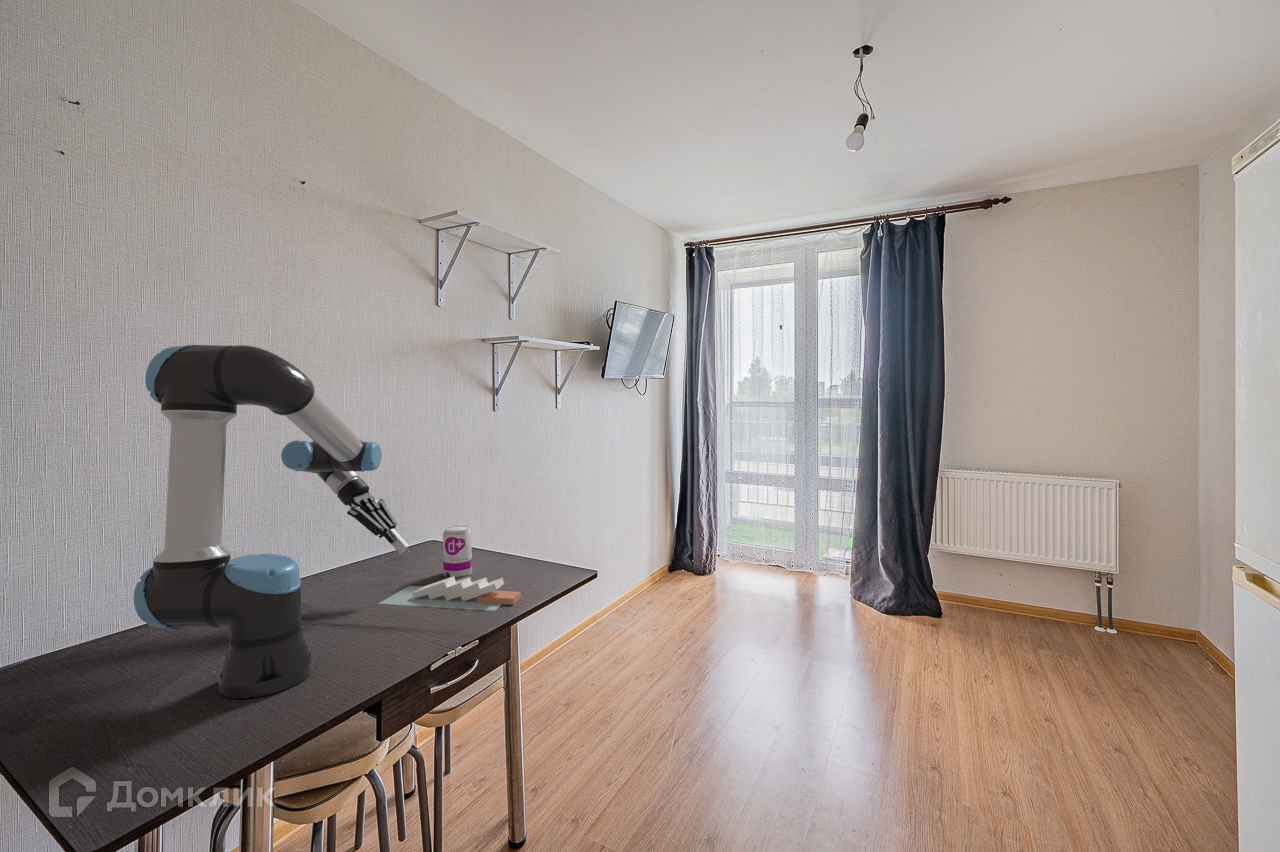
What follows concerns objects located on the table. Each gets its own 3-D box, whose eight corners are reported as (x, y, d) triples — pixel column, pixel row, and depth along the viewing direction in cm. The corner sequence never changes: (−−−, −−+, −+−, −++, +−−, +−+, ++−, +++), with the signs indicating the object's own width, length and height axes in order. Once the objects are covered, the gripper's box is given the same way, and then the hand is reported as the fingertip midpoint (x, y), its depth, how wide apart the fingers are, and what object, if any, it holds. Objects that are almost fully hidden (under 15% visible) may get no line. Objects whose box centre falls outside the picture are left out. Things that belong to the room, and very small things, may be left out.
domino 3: (456, 594, 151) (488, 582, 150) (446, 600, 146) (479, 588, 145) (453, 588, 151) (486, 577, 150) (444, 595, 146) (477, 583, 145)
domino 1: (424, 592, 153) (455, 581, 151) (413, 598, 148) (446, 587, 146) (422, 587, 153) (453, 576, 151) (411, 593, 148) (444, 581, 146)
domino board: (495, 615, 139) (494, 610, 139) (378, 608, 145) (378, 603, 145) (516, 596, 153) (516, 591, 153) (409, 590, 159) (409, 585, 159)
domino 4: (472, 594, 151) (504, 583, 149) (463, 601, 146) (496, 589, 144) (469, 589, 151) (502, 577, 149) (460, 595, 146) (494, 583, 144)
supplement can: (467, 581, 166) (466, 531, 165) (439, 581, 166) (438, 531, 165) (475, 573, 174) (474, 525, 173) (449, 573, 174) (448, 525, 174)
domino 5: (485, 596, 150) (520, 598, 148) (476, 602, 145) (513, 604, 143) (485, 590, 150) (520, 592, 148) (476, 596, 145) (513, 598, 143)
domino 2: (439, 593, 152) (471, 582, 150) (430, 599, 147) (463, 588, 145) (437, 587, 152) (469, 576, 150) (427, 594, 147) (460, 582, 146)
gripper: (356, 492, 160) (409, 552, 158) (322, 499, 148) (380, 565, 145) (372, 474, 159) (426, 535, 157) (340, 480, 147) (398, 546, 144)
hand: (404, 549), depth 151 cm, fingers closed
